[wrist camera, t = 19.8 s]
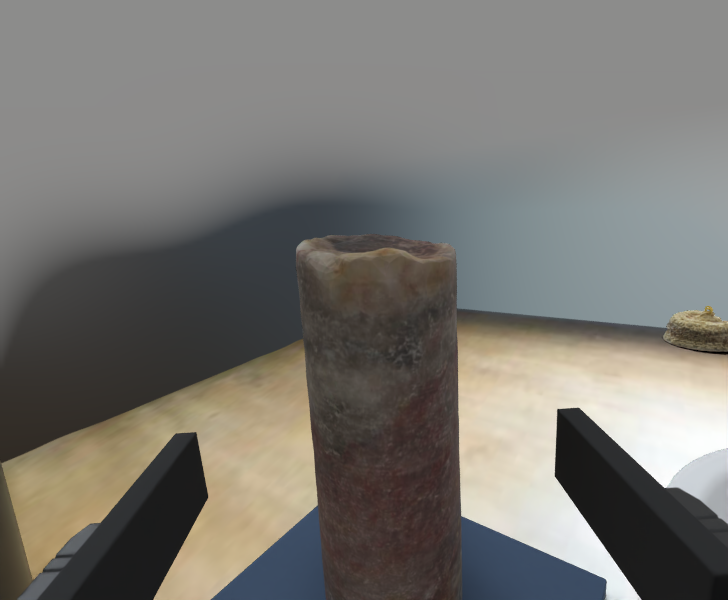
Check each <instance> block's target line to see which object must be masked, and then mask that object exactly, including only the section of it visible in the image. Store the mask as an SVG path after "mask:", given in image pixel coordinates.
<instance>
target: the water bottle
mask: <svg viewBox="0 0 728 600" xmlns="http://www.w3.org/2000/svg"><path fill="white" fill-rule="evenodd" d="M32 582H33V579H32V575H31V572H30V568H29V564H28V561H27V557H26V553H25V550H24V546H23V542H22V538H21V535H20V531H19V527H18V524H17V520H16V516H15V513H14V509H13V505H12V502H11V498H10V494H9V490H8V487H7V483H6V479H5V476H4V472H3V468H2V465H1V461H0V600H17V598H18V597H19V596H20V595H21V594H22V593H23V592H24V591H25V589H26V588H27V587H28V586H29V585H30V584H31V583H32Z"/></svg>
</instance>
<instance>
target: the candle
mask: <svg viewBox="0 0 728 600" xmlns="http://www.w3.org/2000/svg"><path fill="white" fill-rule="evenodd" d="M296 271H297V278H298V286H299V294H300V309H301V320H302V328H303V341H304V348H305V361H306V377H307V387H308V396H309V406H310V420H311V430H312V440H313V447H314V459H315V475H316V486H317V497H318V513H319V525H320V537H321V550H322V563H323V573H324V584H325V595H326V600H462V538H461V502H460V466H459V416H458V347H457V304H456V303H457V302H456V301H457V277H456V276H457V273H456V272H457V271H456V253H455V249H454V248H453V247H452V246H451V245H450V244H446V243H439V244H432V243H431V242H426V241H416V240H409V239H404V238H401V237H397V236H383V235H377V234H367V235H361V236H356V235H352V236H338V235H337V236H336V235H330V236H326V237H324V238H314V239H312V240H305V241H303V242H302V243H300V244H299V245H298V247H297V249H296Z"/></svg>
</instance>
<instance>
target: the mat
mask: <svg viewBox="0 0 728 600" xmlns="http://www.w3.org/2000/svg"><path fill="white" fill-rule="evenodd" d="M461 538H462V600H605V594H606V583H607V581H606V579H604V578H602V577H599V576H597V575H595V574H592V573H590V572H588V571H586V570H583V569H581V568H579V567H576V566H574V565H572V564H569V563H567V562H565V561H563V560H560V559H558V558H556V557H553V556H551V555H549V554H547V553H544V552H542V551H540V550H537V549H535V548H533V547H531V546H528V545H526V544H524V543H521V542H519V541H517V540H515V539H512V538H510V537H508V536H505V535H503V534H501V533H499V532H496V531H494V530H492V529H489V528H487V527H485V526H483V525H480V524H478V523H476V522H473V521H471V520H469V519H467V518H464V517H462V516H461ZM211 600H326V595H325V584H324V573H323V563H322V550H321V537H320V525H319V513H318V506H316V507H315V508H314V509H313V510H312V511H311V512H310V513H308V514H307V515H306V516H305V517H304V518H303V519H302V520H301V521H299V522H298V523H297V524H296V525H295V526H294V527H293V528H291V529H290V530H289V531H288V532H287V533H286V534H285V535H284V536H282V537H281V538H280V539H279V540H278V541H277V542H276V543H275V544H273V545H272V546H271V547H270V548H269V549H268V550H267V551H265V552H264V553H263V554H262V555H261V556H260V557H259V558H258V559H256V560H255V561H254V562H253V563H252V564H251V565H250V566H248V567H247V568H246V569H245V570H244V571H243V572H242V573H241V574H239V575H238V576H237V577H236V578H235V579H234V580H233V581H231V582H230V583H229V584H228V585H227V586H226V587H225V588H224V589H222V590H221V591H220V592H219V593H218V594H217V595H216V596H214V597H213V598H212V599H211Z"/></svg>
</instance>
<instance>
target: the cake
mask: <svg viewBox="0 0 728 600" xmlns="http://www.w3.org/2000/svg"><path fill="white" fill-rule="evenodd" d="M707 307H709V308H707ZM707 307H706V308H705V311H703V312H701V311H698V310H694V311H688V310H687V311H684V312H678V313H677V314H675V315H673V317H671V319H670V320H669V323H668V324H667V326H666V327H667V328H668V330H667V331H666V332H665V334H664V335H663V339H664V340H665V341H667V342H668V343H671V344H673V345H675V346H679V347H685V348H687V349H694V350H701V351H717V352H720V351H724V352H727V351H728V321H722V320H721V318H720V317H716V316H714V315H715V313H714V312H712V311H713V309H712V307H710V306H707ZM706 309H708V310H710V311H707V310H706Z"/></svg>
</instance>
